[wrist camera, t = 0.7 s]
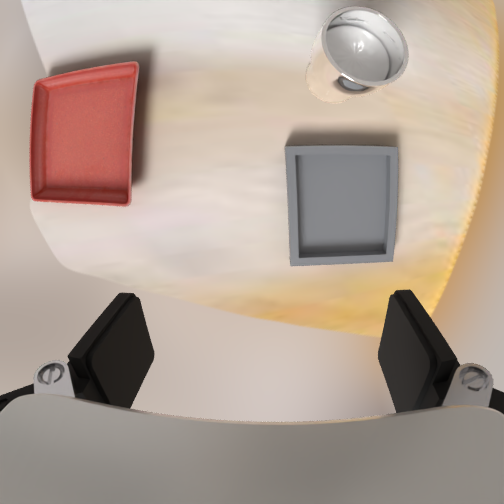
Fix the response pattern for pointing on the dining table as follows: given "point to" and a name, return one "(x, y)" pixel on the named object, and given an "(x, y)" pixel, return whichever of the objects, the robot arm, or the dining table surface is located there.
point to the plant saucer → (84, 135)
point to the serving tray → (341, 203)
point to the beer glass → (355, 55)
